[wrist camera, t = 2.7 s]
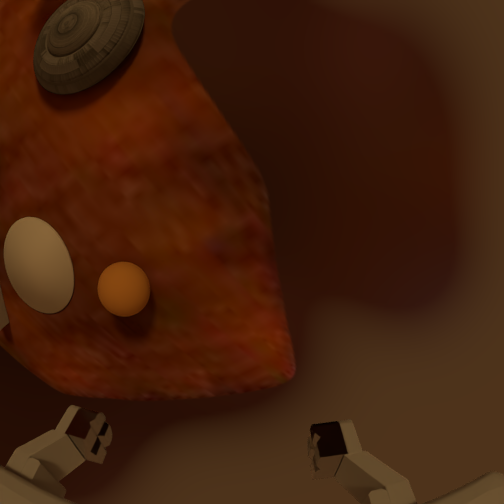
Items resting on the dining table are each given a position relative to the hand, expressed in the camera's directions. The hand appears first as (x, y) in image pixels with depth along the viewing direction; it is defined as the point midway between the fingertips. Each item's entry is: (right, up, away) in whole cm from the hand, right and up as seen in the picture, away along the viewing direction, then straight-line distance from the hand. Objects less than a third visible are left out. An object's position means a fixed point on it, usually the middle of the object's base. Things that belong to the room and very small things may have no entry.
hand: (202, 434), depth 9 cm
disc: (-26, +5, +20) cm, 33 cm away
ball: (-11, +3, +18) cm, 22 cm away
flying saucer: (-17, +31, +13) cm, 38 cm away
